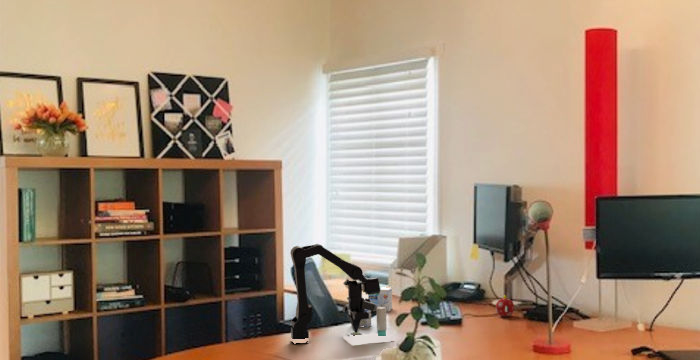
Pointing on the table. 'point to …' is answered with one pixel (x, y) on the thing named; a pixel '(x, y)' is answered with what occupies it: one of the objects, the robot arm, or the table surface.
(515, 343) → the table surface
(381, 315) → the beige teal tall box
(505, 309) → the christmas ornament
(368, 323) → the medicine box
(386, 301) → the light bulb box
